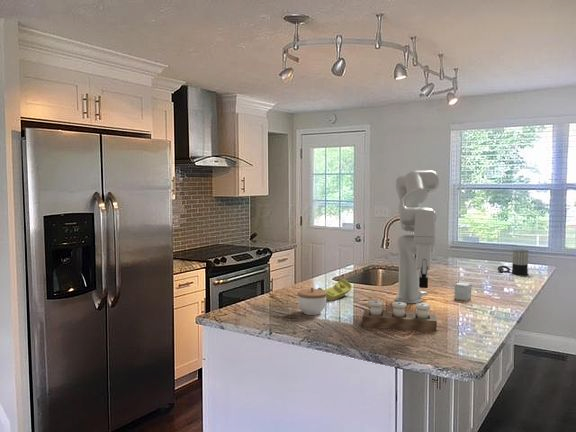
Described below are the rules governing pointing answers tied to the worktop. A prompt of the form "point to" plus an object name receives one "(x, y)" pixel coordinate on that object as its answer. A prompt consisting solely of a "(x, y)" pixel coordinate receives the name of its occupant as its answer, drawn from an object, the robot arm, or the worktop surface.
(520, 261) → the milk frother
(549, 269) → the worktop surface
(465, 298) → the product box
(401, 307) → the knob
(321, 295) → the lidded bowl
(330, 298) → the plastic component
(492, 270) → the worktop surface
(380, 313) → the knob
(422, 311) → the knob
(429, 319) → the mount
